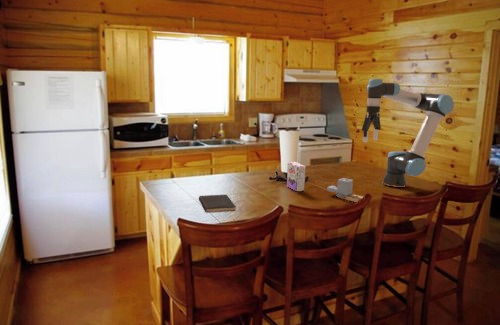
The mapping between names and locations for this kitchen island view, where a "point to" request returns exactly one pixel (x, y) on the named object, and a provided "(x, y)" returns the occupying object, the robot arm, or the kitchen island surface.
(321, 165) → the kitchen island surface
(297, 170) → the candy box
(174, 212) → the kitchen island surface
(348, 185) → the grey l-shaped block
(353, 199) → the frame leaf
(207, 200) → the hardcover book
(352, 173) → the kitchen island surface
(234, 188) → the kitchen island surface
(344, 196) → the gray block on stand
